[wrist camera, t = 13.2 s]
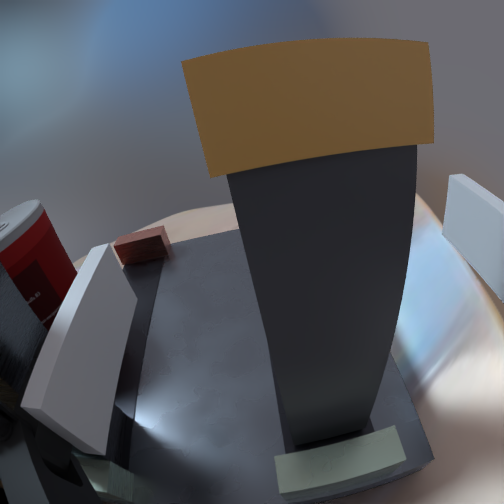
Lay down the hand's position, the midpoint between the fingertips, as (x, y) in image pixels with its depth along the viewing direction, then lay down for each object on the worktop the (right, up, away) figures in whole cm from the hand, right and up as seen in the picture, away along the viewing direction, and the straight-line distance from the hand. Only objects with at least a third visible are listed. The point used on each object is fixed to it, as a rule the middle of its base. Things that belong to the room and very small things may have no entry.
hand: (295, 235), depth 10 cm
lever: (+2, -7, +1) cm, 7 cm away
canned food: (-16, -8, +10) cm, 21 cm away
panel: (-3, -6, +8) cm, 11 cm away
